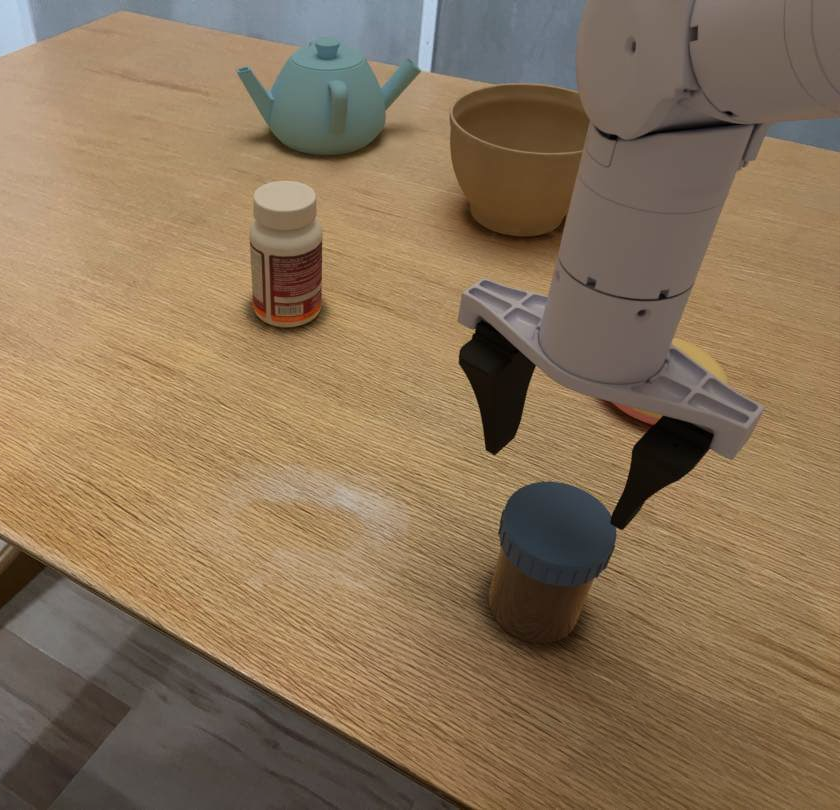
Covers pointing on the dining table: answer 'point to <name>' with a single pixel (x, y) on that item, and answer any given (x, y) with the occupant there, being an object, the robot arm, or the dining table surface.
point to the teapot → (327, 98)
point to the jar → (534, 604)
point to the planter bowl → (518, 154)
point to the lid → (557, 533)
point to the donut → (697, 356)
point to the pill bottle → (286, 254)
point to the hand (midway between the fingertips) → (559, 478)
